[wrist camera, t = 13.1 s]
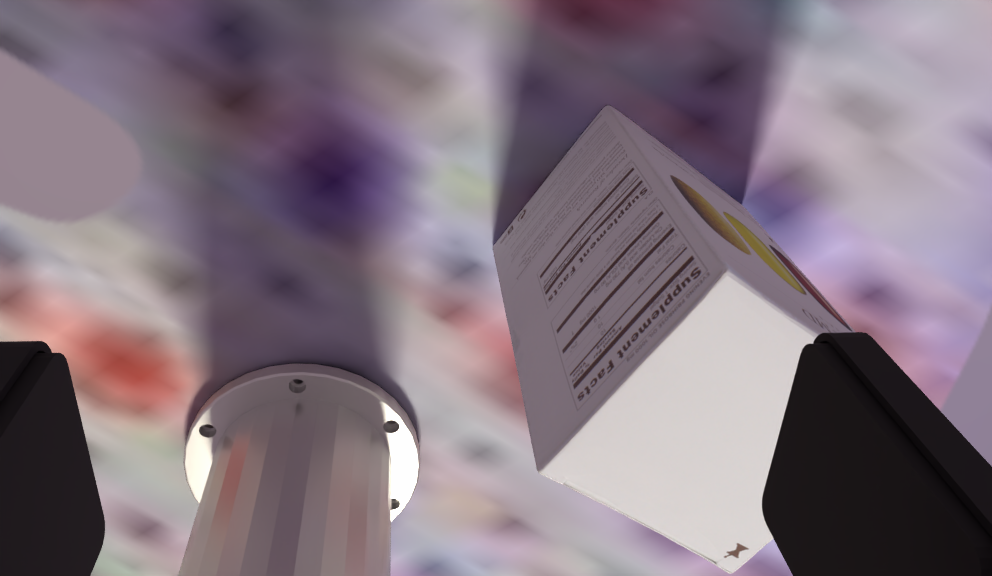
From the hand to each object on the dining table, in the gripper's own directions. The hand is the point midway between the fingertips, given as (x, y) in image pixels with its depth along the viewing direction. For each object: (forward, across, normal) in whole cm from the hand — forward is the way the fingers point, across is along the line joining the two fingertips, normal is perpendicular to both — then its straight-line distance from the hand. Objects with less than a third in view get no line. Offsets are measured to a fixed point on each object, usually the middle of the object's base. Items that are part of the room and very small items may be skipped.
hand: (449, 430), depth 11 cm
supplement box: (+28, -10, +10) cm, 32 cm away
